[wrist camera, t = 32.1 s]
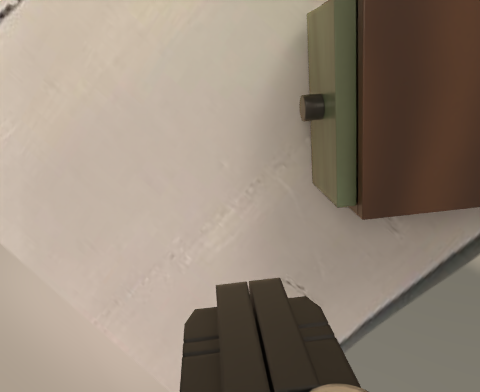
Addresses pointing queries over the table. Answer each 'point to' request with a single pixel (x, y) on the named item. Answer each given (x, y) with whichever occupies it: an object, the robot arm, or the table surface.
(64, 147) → the table surface
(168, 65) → the table surface
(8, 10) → the table surface
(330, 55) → the drawer
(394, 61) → the cabinet
